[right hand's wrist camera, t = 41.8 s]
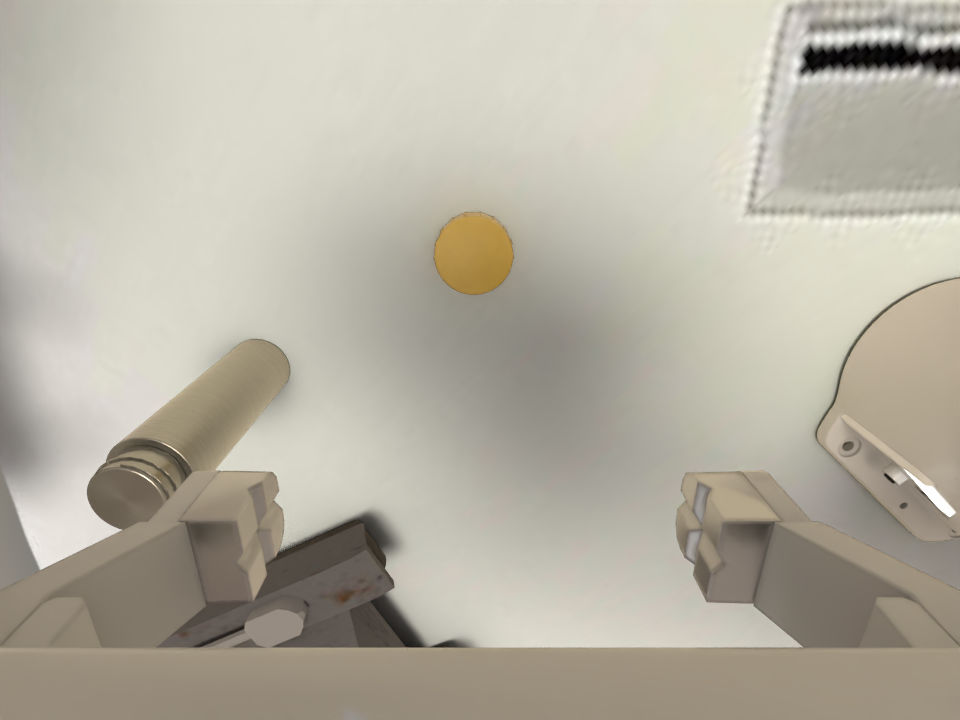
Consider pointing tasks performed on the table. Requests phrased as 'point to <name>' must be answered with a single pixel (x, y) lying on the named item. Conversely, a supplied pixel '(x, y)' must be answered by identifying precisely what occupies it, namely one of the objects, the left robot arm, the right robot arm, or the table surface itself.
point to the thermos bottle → (187, 434)
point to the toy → (305, 601)
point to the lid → (473, 253)
